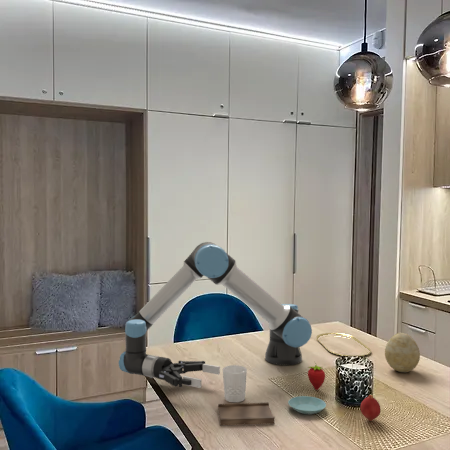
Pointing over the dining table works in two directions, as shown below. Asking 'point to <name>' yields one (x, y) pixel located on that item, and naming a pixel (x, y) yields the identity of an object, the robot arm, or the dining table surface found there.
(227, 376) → the white cup
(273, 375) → the dining table surface
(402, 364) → the fossilized egg
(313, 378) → the strawberry
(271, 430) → the dining table surface
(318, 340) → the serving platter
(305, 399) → the saucer
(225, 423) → the walnut board
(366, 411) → the red rounded fruit
